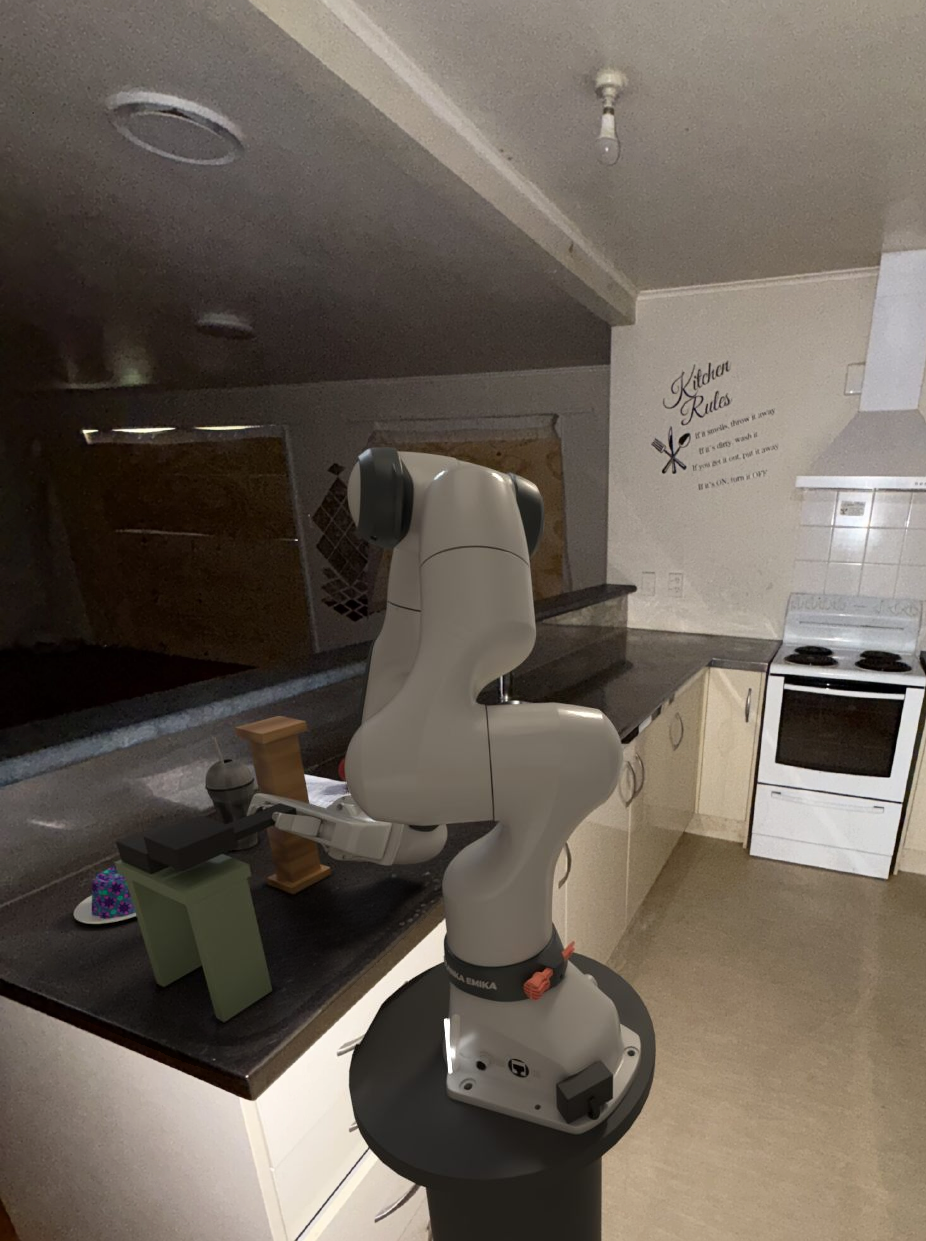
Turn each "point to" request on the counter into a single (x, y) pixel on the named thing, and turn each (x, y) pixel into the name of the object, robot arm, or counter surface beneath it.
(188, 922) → the low bench
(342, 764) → the onion
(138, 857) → the black block
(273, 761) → the tall stand
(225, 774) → the beverage cup
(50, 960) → the counter surface
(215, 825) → the black pad
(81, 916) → the pudding
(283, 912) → the counter surface
